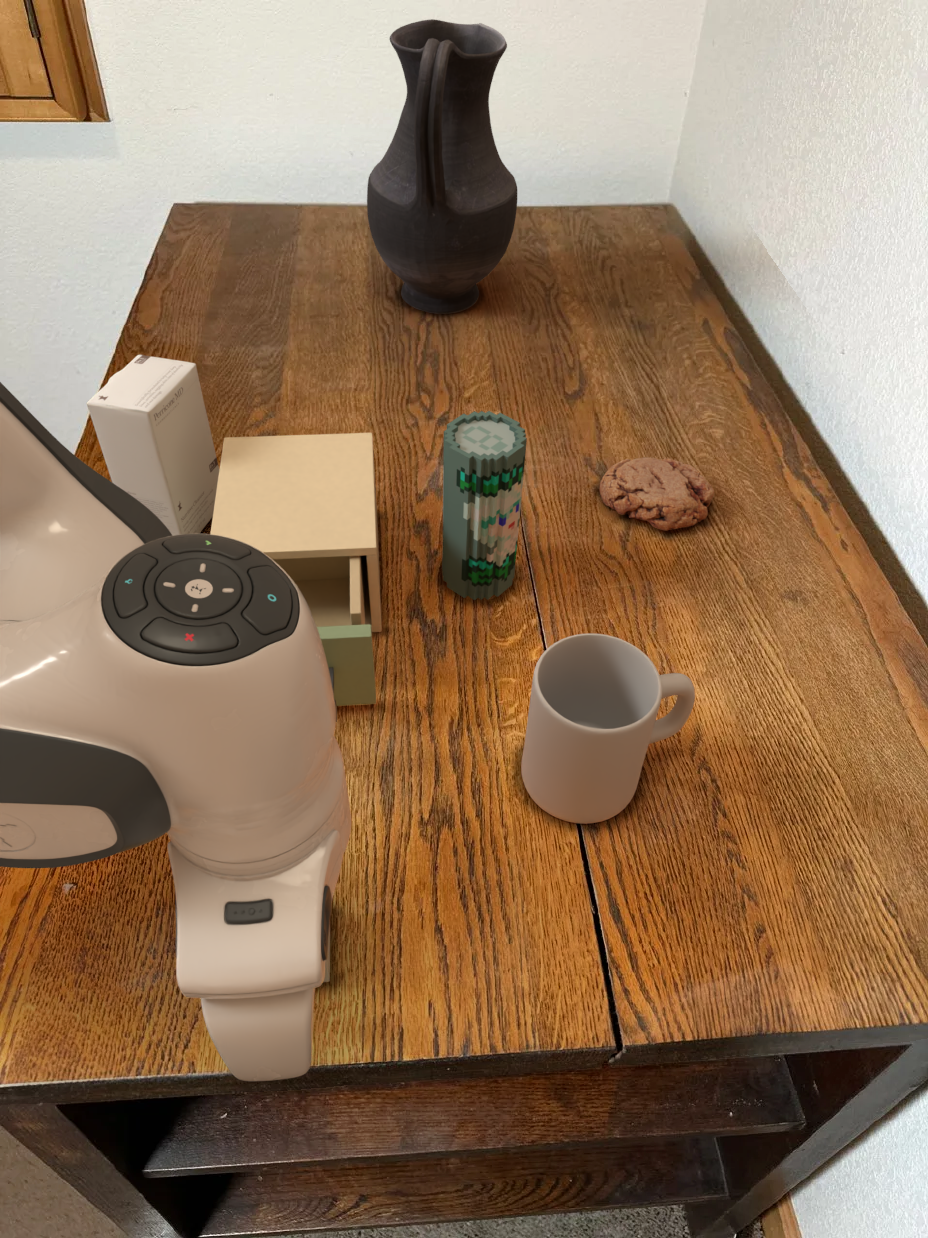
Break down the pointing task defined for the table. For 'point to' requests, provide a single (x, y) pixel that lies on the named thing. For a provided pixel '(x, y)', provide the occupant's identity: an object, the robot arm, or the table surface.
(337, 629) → the drawer
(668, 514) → the cookie
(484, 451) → the can
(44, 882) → the table surface
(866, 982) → the table surface
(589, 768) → the mug
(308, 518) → the cabinet
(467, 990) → the table surface
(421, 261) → the pitcher
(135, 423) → the cosmetic box
